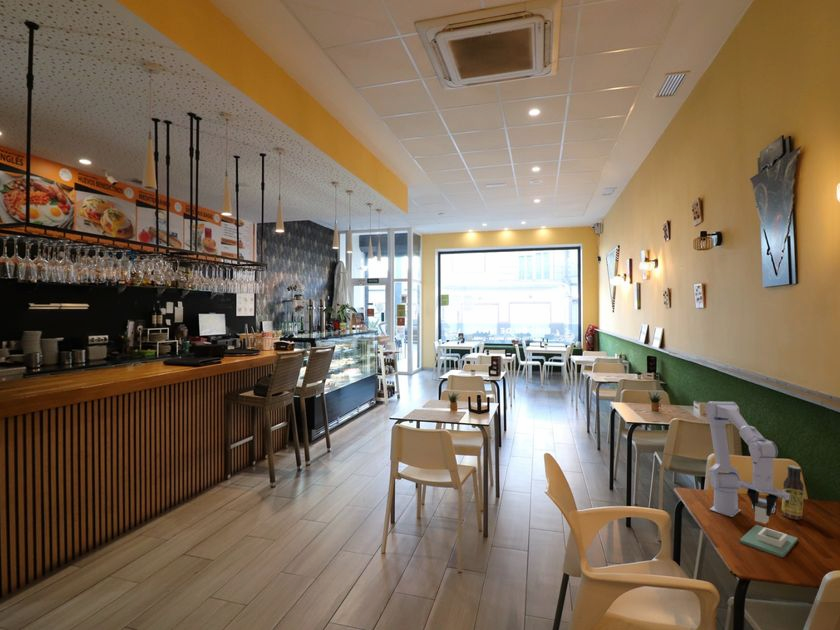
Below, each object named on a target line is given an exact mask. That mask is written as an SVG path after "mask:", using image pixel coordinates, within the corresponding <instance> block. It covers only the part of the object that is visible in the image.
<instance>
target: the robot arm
mask: <svg viewBox="0 0 840 630" xmlns="http://www.w3.org/2000/svg"><path fill="white" fill-rule="evenodd" d="M705 413H706V415H705V416H706V421H708V422H709V427H710V432H711V433H710V435H711V440H712V441H711V442H712V449H713V454H714V462H715V463H714V464H713V465H712V466H711V467H709V468H708V471H709V472H708V482H709V484H710V486H711V487H712V488H713V506H712V507H710V508H709V510H710V511H712V512H716V513H717V514H720V515H721V514H722V515H724V516H727V517H728V516H729V517H731V518H734V517H735V516H736V515H738V513H740V512H741V510H742V509H739V502H738V501H739V498H738V497H739V495H738V491H739V490H740V489H741V488H743V489H745V490H747V491H746V494H747V496H748V498H749V500H750V502H751V505H752V504H753V508H754V509H753V508H752V509H753V512H754V513H755V503H757V502H758V499H759V498H760V497H759V496H760V493H762V494H764V495H766V496H765V499H766V501H767V516H769V517H770V516H771V515H772V513H771V512H772V508H773V506H774V504H775V502H776V503H777V501H778V499H779V498H780V499H782V498H783V499H784V500H789V497H790V494H789V493H786V492H783V490H780V489H778V488H777V489H776V488H774V459H775V458H776V457H777V456H778V454H779V450H778V447H777V445H776V443H775V442H774V441H772V440H769V439H766V438H765V437H764V436H763V435H762V434H761V433H760V432H759V430H757V429H756V428H757V427H755V426H753V425H749V424H748V423H747V421H746V420H745V419H744V417H743V416H742V414H741V413H740V406H738V404H737V403H736V402H735V401H712V400H710V401H708V402H707V403H706V405H705ZM729 422H730V423H731V424H732V425H733V426H735V428H737V430H738V431H739V432H738V434H739V436H740V438H741V439H742V440H743V441H744V442H745V443H746V444H747V446H748V451H749V454H750V459H751V461H752V482H747V481H742V478H741V477H740V474H739V470H738V469H737V468H736V467H735V466H733V465H732V463H731V456H730V450H729V449H730V448H729V443H728V437H727V430H726V425H727V423H729ZM777 458H778V457H777Z"/></svg>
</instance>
